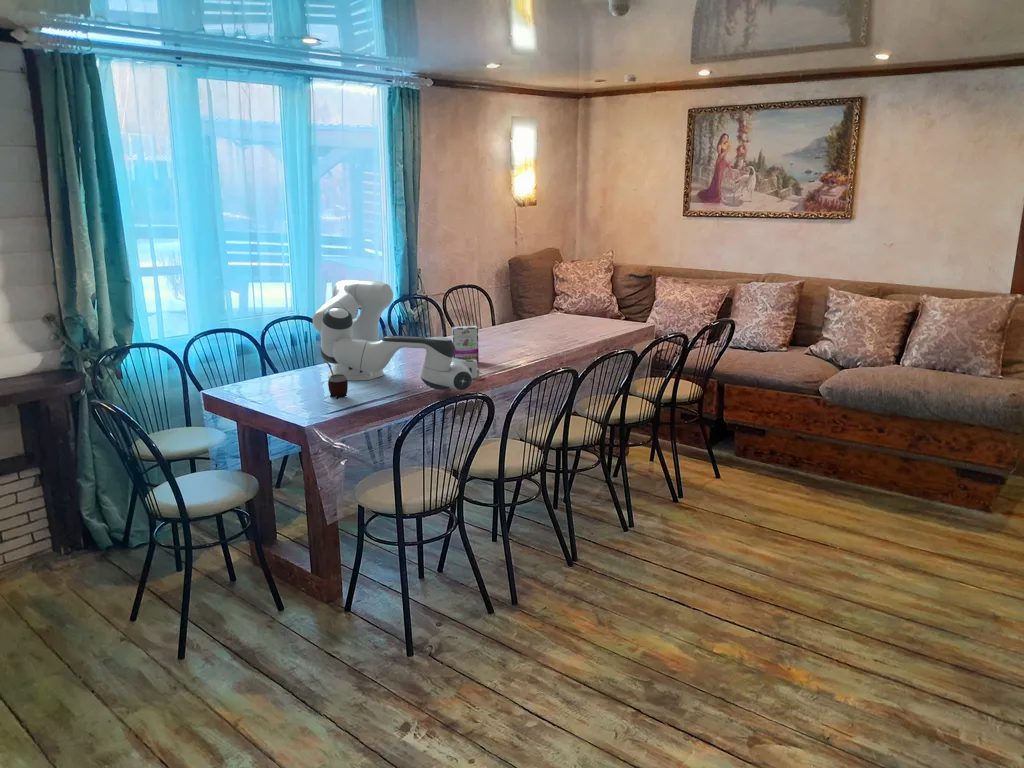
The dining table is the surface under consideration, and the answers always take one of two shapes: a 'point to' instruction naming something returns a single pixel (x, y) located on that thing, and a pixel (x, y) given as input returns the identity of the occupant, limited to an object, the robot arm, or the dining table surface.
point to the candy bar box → (465, 342)
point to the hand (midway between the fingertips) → (448, 362)
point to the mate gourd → (337, 384)
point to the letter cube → (477, 374)
